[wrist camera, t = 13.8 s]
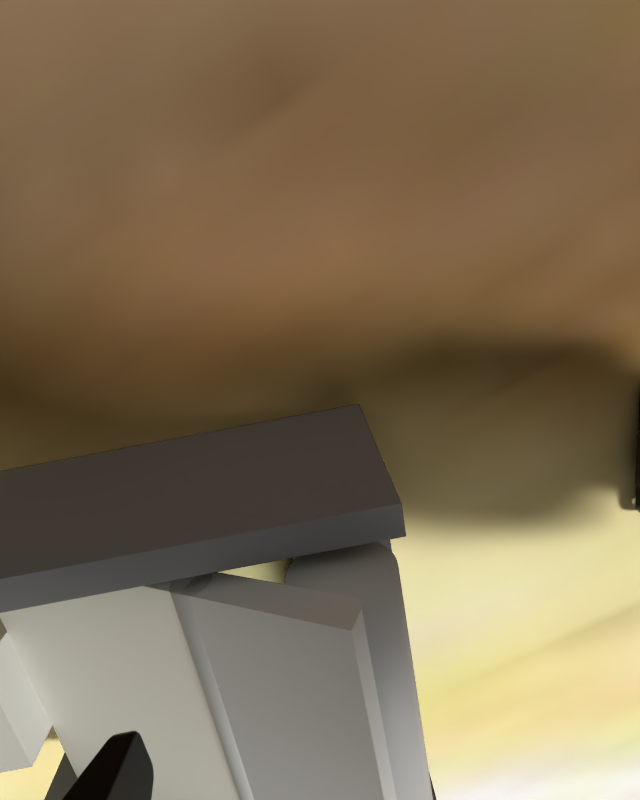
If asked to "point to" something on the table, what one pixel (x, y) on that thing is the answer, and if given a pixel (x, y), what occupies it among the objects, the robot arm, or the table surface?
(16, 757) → the grey rectangular block
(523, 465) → the table surface
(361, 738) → the trapdoor
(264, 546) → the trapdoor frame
